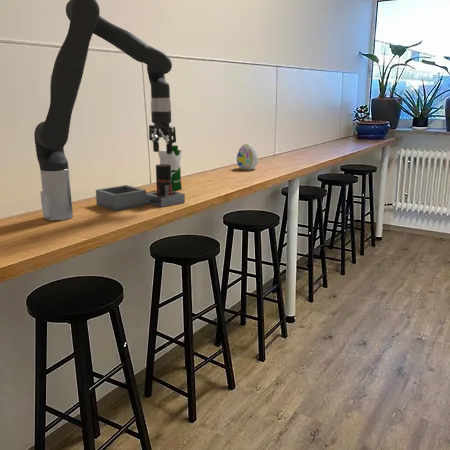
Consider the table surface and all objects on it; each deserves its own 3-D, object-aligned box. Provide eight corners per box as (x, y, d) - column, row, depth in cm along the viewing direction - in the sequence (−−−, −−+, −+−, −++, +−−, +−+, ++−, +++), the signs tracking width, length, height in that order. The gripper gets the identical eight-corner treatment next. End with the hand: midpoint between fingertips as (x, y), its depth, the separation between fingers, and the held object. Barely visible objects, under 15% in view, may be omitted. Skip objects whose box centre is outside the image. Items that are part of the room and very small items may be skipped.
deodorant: (164, 199, 186) (163, 163, 182) (175, 202, 183) (173, 165, 179) (154, 202, 182) (152, 165, 178) (164, 204, 178) (162, 167, 174)
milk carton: (172, 192, 200) (171, 147, 195) (157, 190, 205) (155, 145, 199) (184, 189, 208) (183, 145, 202) (168, 186, 212) (167, 144, 206)
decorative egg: (232, 168, 263) (232, 142, 259) (247, 166, 271) (247, 141, 267) (247, 171, 254) (247, 144, 250) (262, 169, 262) (262, 143, 258)
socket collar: (161, 207, 175) (161, 198, 174) (144, 202, 183) (144, 193, 182) (184, 202, 182) (184, 193, 181) (167, 197, 190) (167, 189, 189)
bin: (115, 211, 168) (114, 195, 167) (96, 204, 178) (95, 189, 176) (146, 205, 178) (146, 190, 176) (127, 199, 187) (126, 185, 186)
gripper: (142, 110, 175) (144, 152, 179) (164, 111, 165) (166, 155, 169) (158, 109, 180) (159, 150, 184) (180, 110, 170) (181, 153, 174)
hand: (162, 152), depth 177 cm, fingers open, 8 cm apart
